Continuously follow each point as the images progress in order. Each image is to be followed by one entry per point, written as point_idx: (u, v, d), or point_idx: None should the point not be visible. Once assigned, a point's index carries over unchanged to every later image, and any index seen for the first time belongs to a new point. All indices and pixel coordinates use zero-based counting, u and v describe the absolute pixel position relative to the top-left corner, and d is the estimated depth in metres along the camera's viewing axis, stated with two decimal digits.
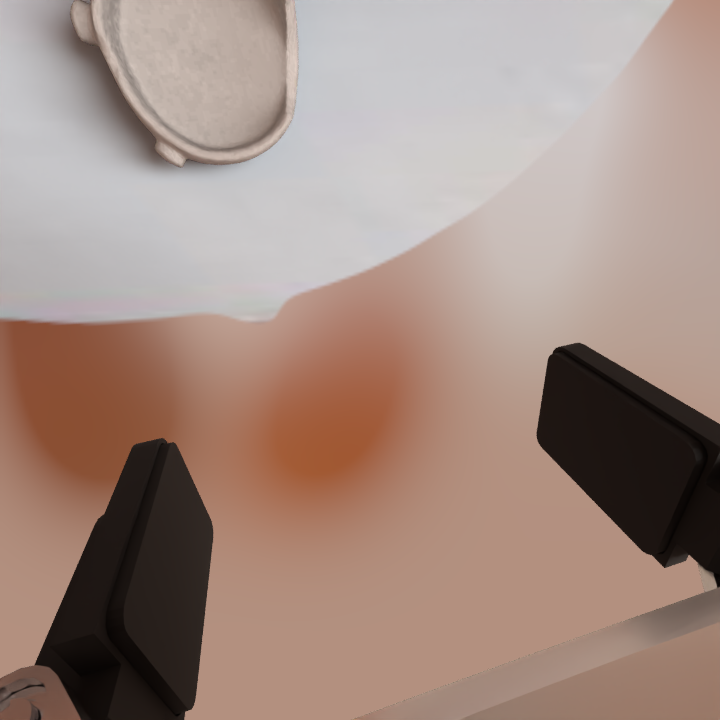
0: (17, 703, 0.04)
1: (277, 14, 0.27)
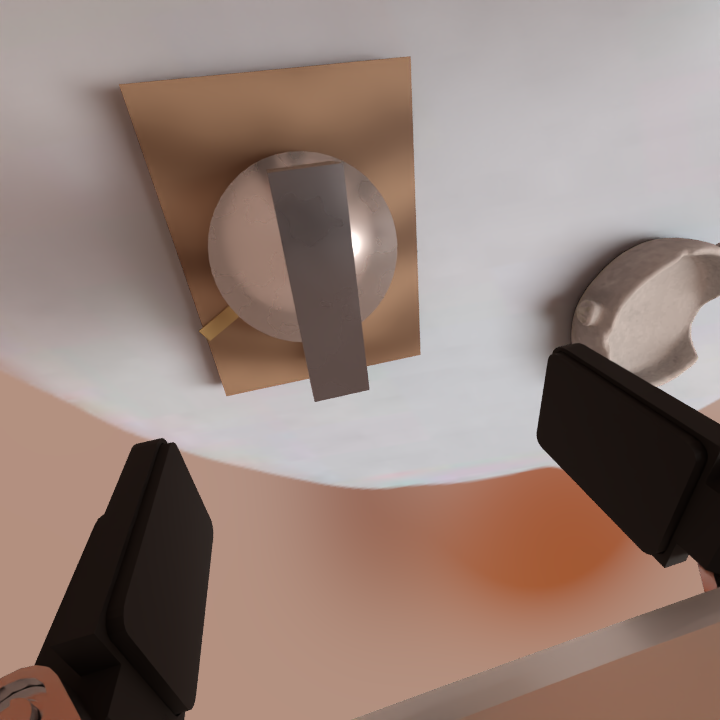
0: (17, 703, 0.04)
1: (704, 287, 0.35)
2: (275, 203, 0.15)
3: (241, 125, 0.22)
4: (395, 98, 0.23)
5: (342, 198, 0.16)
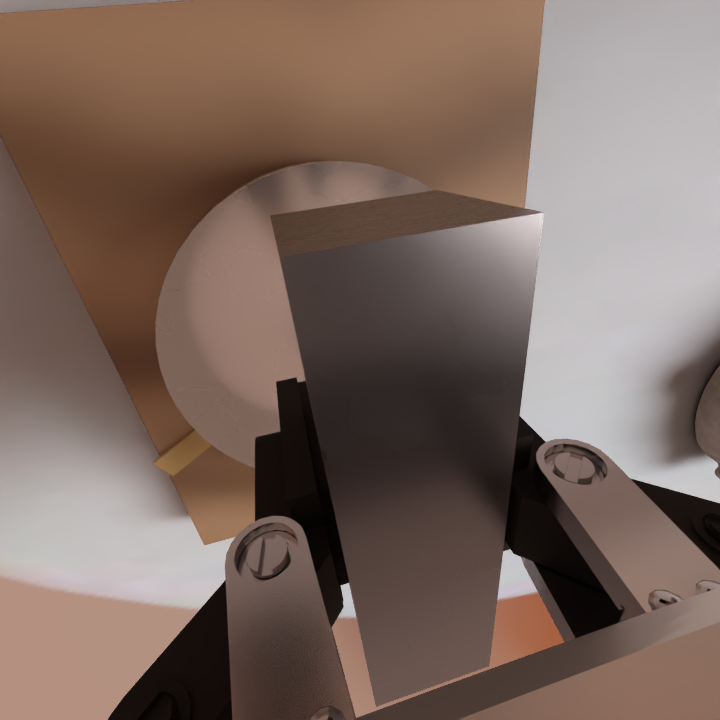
0: (279, 539, 0.06)
1: None
2: (306, 351, 0.04)
3: (217, 110, 0.11)
4: (510, 60, 0.12)
5: (517, 320, 0.05)
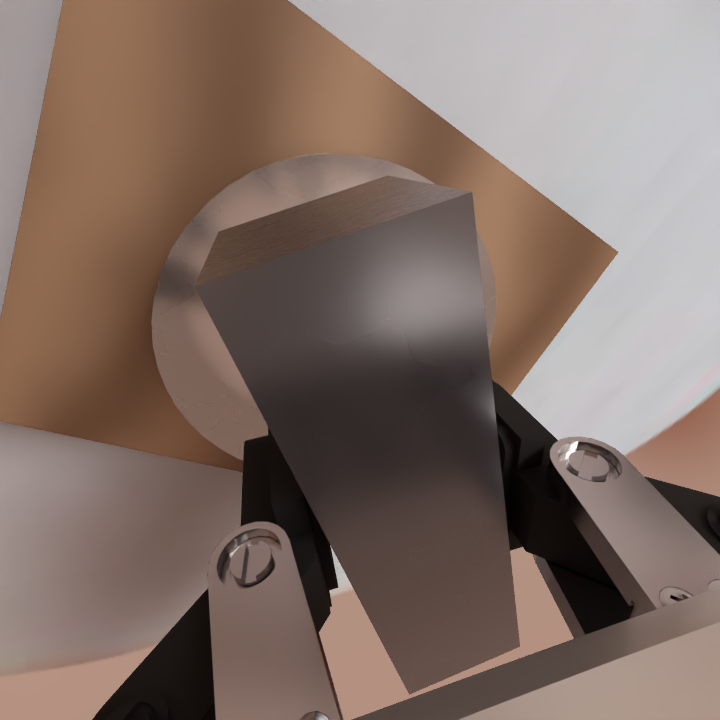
0: (262, 545, 0.06)
1: None
2: (247, 374, 0.04)
3: (98, 302, 0.13)
4: None
5: (469, 308, 0.05)
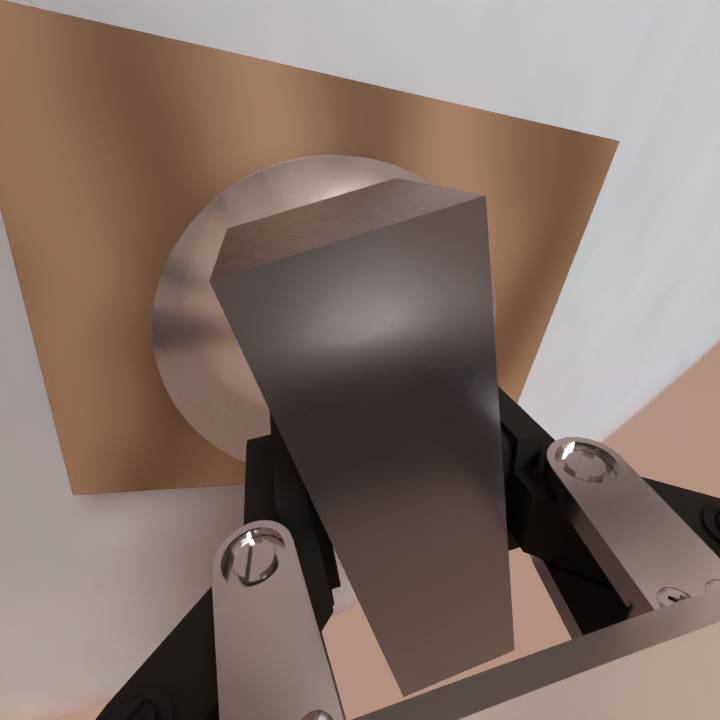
0: (266, 544, 0.06)
1: None
2: (257, 370, 0.04)
3: (120, 376, 0.14)
4: (53, 61, 0.10)
5: (478, 310, 0.05)
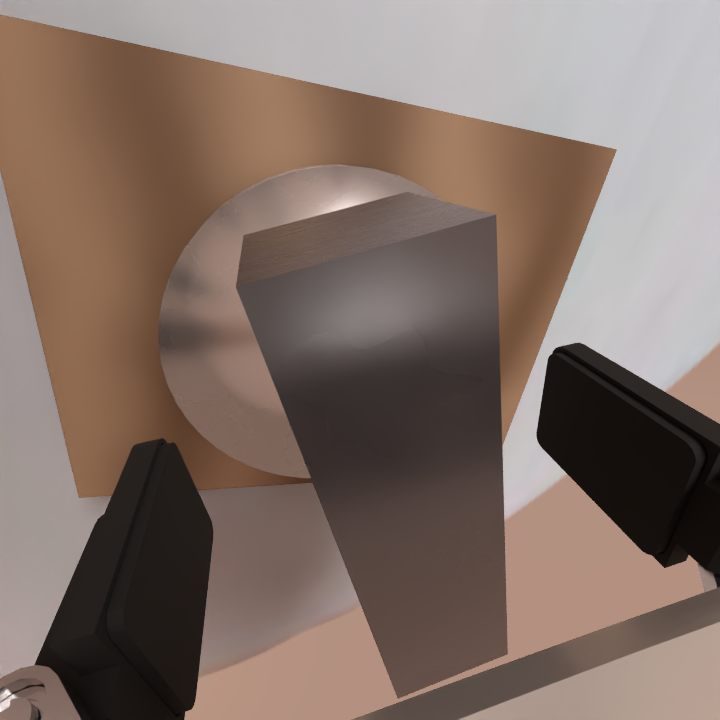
0: (17, 703, 0.04)
1: None
2: (275, 372, 0.05)
3: (127, 380, 0.14)
4: (65, 76, 0.10)
5: (485, 321, 0.05)
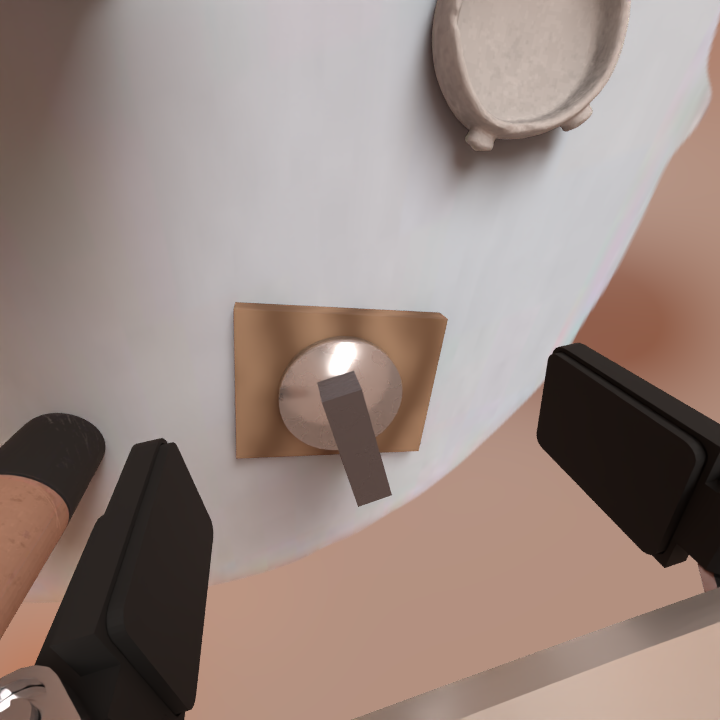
0: (17, 703, 0.04)
1: None
2: (327, 414, 0.28)
3: (261, 411, 0.38)
4: (257, 321, 0.34)
5: (363, 404, 0.28)
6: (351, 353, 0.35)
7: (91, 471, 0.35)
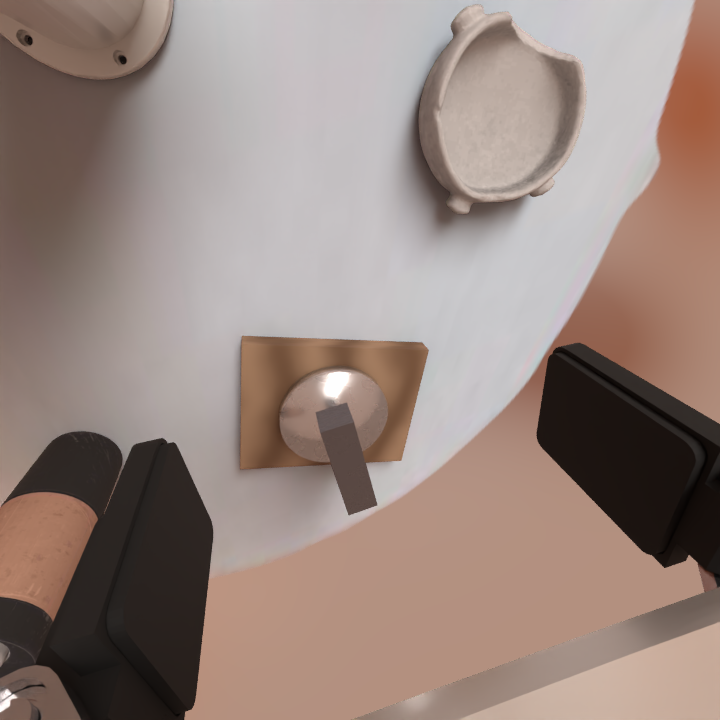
0: (17, 703, 0.04)
1: (498, 37, 0.30)
2: (324, 442, 0.33)
3: (263, 429, 0.43)
4: (261, 354, 0.39)
5: (355, 433, 0.33)
6: (344, 381, 0.40)
7: (113, 483, 0.39)
